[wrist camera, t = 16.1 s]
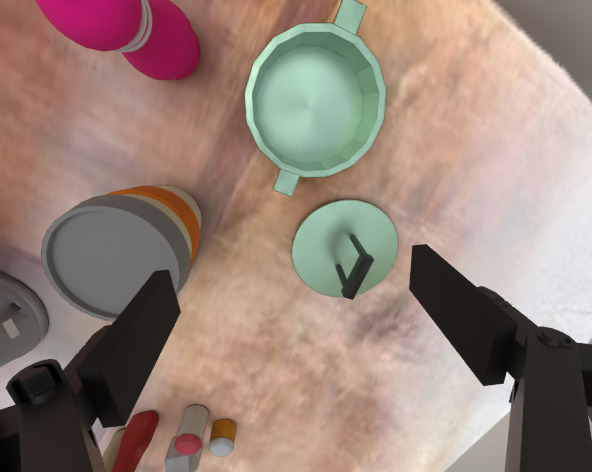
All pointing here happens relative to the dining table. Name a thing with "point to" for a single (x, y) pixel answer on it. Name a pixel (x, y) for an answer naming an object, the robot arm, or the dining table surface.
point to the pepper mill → (131, 32)
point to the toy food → (182, 448)
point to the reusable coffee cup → (121, 246)
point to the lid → (344, 248)
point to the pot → (316, 98)
